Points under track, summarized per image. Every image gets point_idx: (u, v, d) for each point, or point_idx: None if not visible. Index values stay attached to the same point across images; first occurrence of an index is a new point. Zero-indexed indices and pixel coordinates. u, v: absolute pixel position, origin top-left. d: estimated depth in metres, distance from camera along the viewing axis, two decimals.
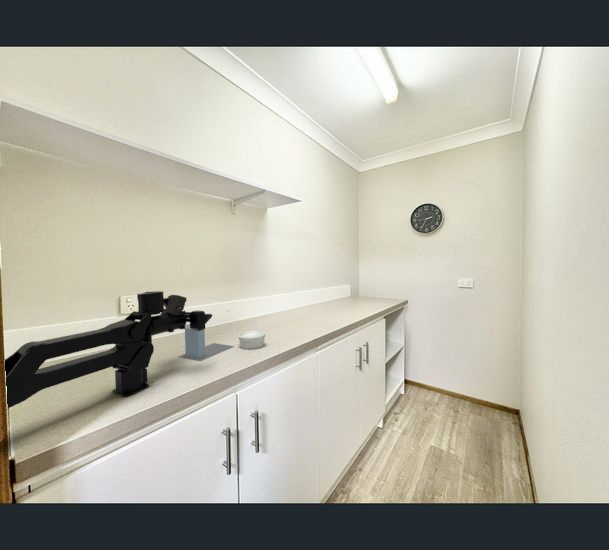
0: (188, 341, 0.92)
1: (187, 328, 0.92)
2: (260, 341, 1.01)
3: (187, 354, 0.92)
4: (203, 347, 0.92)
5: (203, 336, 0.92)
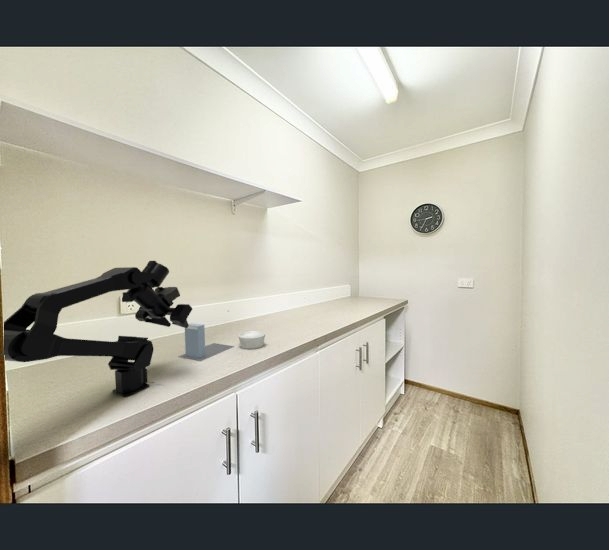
0: (188, 341, 0.92)
1: (187, 328, 0.92)
2: (260, 341, 1.01)
3: (187, 354, 0.92)
4: (203, 347, 0.92)
5: (203, 336, 0.92)
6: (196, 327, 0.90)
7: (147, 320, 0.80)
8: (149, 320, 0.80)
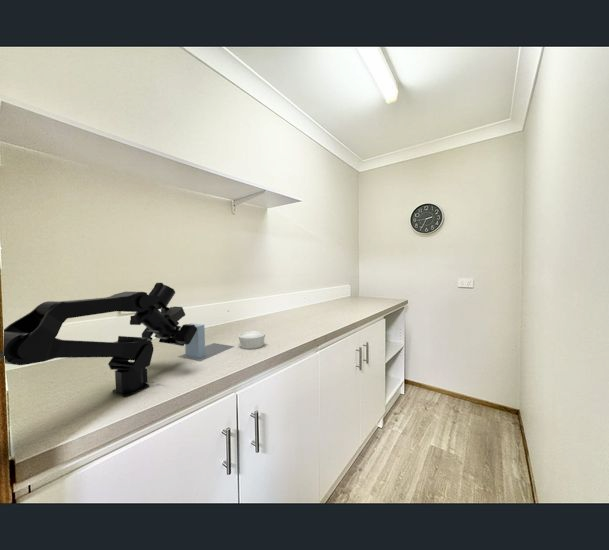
0: None
1: None
2: (260, 341, 1.01)
3: (187, 354, 0.92)
4: (203, 347, 0.92)
5: (203, 336, 0.92)
6: None
7: (161, 340, 0.81)
8: (163, 340, 0.81)
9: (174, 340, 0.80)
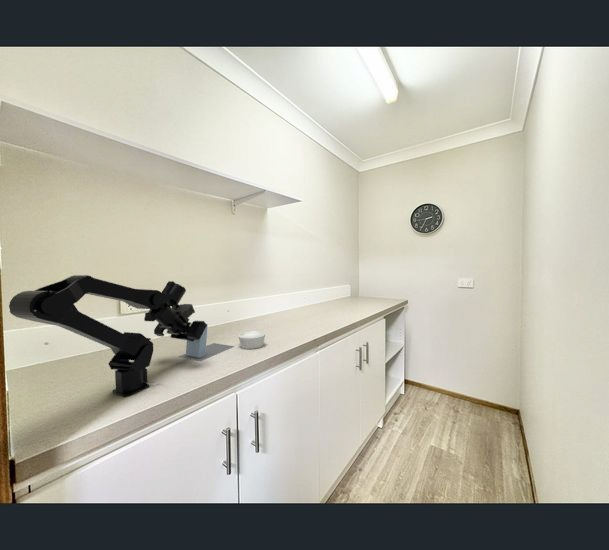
0: None
1: None
2: (260, 341, 1.01)
3: (187, 353, 0.92)
4: (204, 346, 0.92)
5: (205, 335, 0.93)
6: None
7: (173, 336, 0.86)
8: (175, 336, 0.85)
9: (185, 336, 0.85)
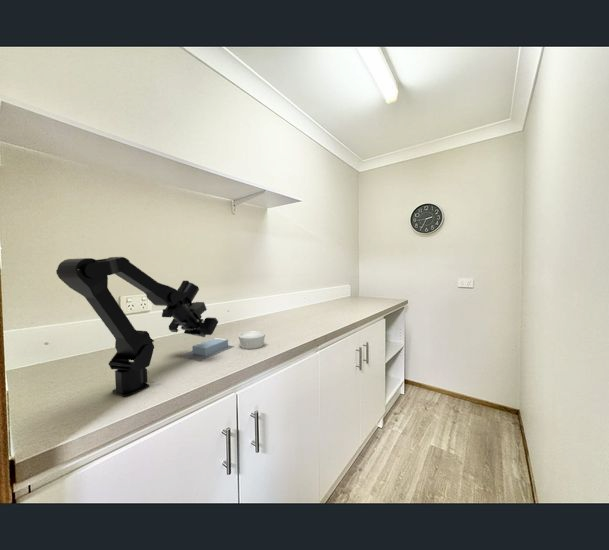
0: (207, 342, 1.00)
1: (216, 338, 1.05)
2: (260, 341, 1.01)
3: (196, 345, 0.96)
4: (212, 350, 0.96)
5: (220, 348, 1.00)
6: (225, 339, 1.03)
7: (186, 332, 0.92)
8: (188, 332, 0.91)
9: (198, 331, 0.91)
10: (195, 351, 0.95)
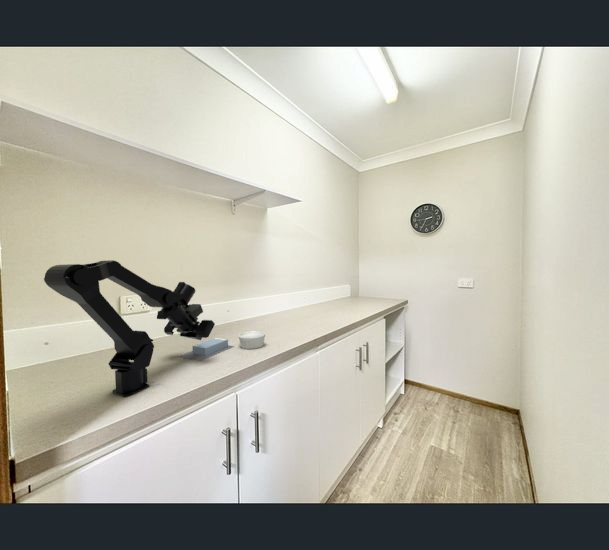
0: (207, 342, 1.00)
1: (216, 338, 1.05)
2: (260, 341, 1.01)
3: (196, 345, 0.96)
4: (212, 350, 0.96)
5: (220, 348, 1.00)
6: (225, 339, 1.03)
7: (182, 334, 0.90)
8: (184, 334, 0.89)
9: (194, 334, 0.89)
10: (195, 351, 0.95)
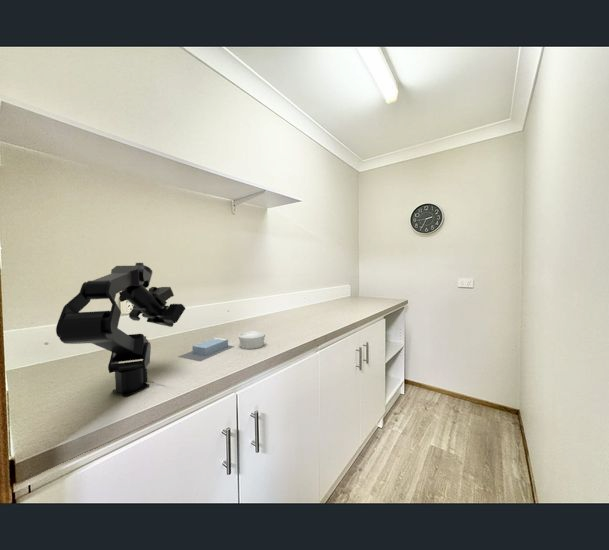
0: (207, 342, 1.00)
1: (216, 338, 1.05)
2: (260, 341, 1.02)
3: (196, 345, 0.96)
4: (212, 350, 0.96)
5: (220, 348, 1.00)
6: (225, 339, 1.03)
7: (149, 320, 0.81)
8: (151, 320, 0.80)
9: (162, 319, 0.80)
10: (195, 351, 0.95)
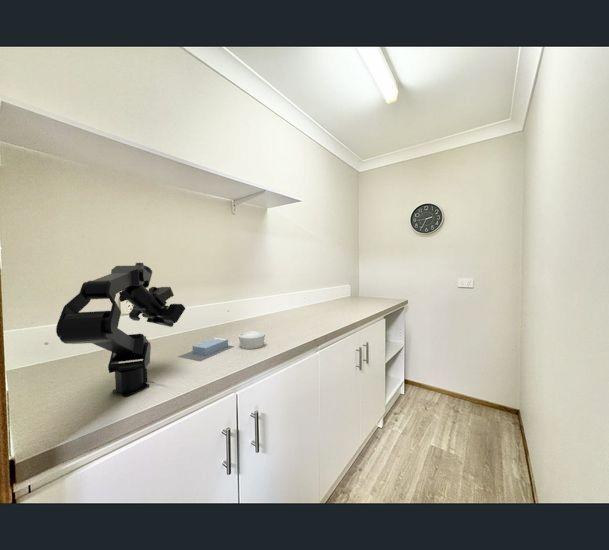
0: (207, 342, 1.00)
1: (216, 338, 1.05)
2: (260, 341, 1.02)
3: (196, 345, 0.96)
4: (212, 350, 0.96)
5: (220, 348, 1.00)
6: (225, 339, 1.03)
7: (149, 320, 0.81)
8: (151, 320, 0.80)
9: (162, 319, 0.80)
10: (195, 351, 0.95)
